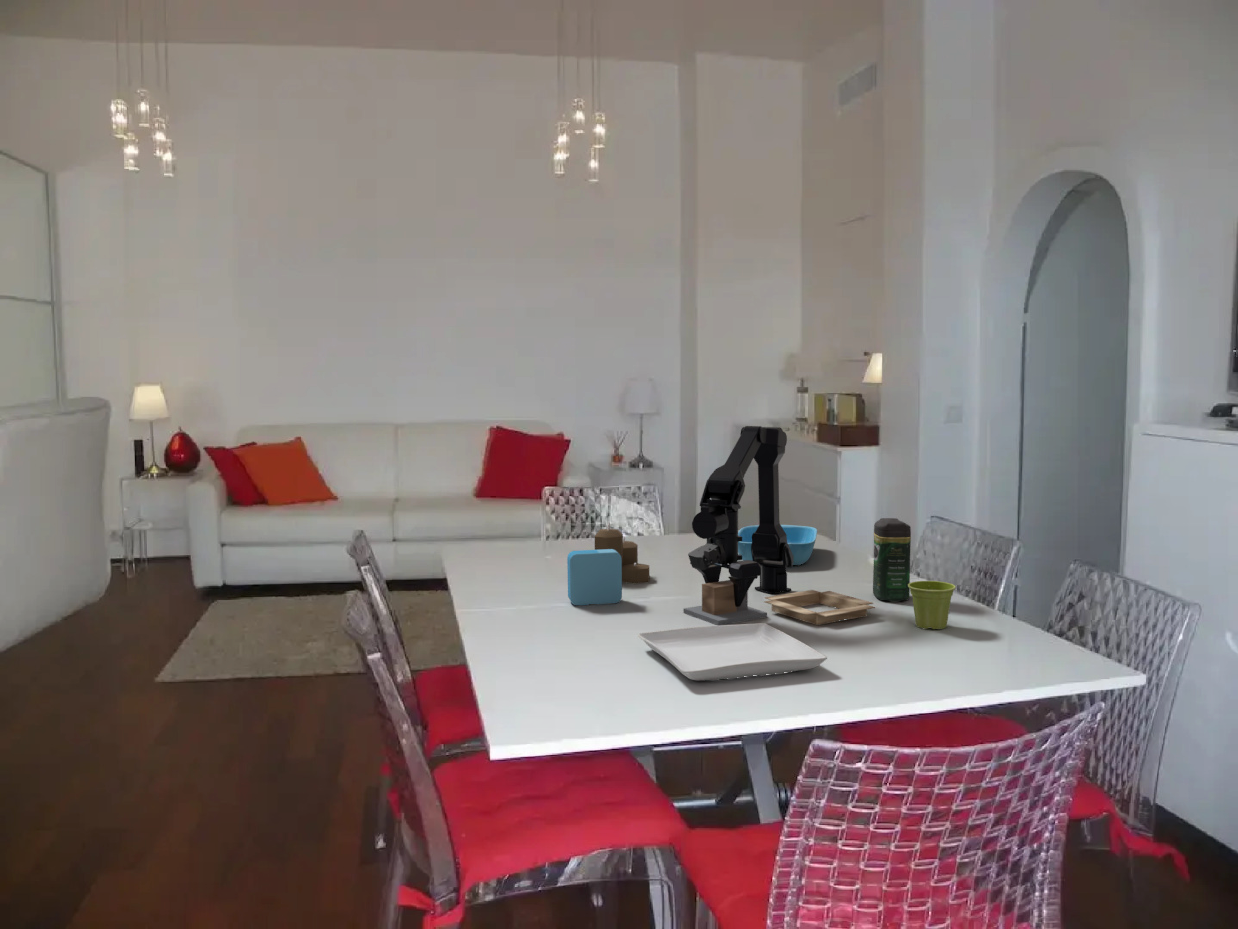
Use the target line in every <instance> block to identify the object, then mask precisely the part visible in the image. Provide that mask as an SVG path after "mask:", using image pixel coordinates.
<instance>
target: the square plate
mask: <svg viewBox="0 0 1238 929" xmlns="http://www.w3.org/2000/svg"><path fill="white" fill-rule="evenodd" d="M637 637H638V638H639V639H640V640H642V641H643V642H644V643H645V644H646V645H647V646H648V647H649V649H651V650H653V652H655V653H657V654H658V655H660V656H661V658H664V659H665V660H666V661H667V662H669V663H670V664H671V665H672V666H673V667H675V668H676V670H678V671H679V673H680V674H682V675H683V676H685V677H686V678H688V679H689V680H691V681H705V680H718V681H720V680H719V679H727V678H737V677H744V676H753V675H765V676H767V675H766V674H775V673H784V672H790V673H792V672H791V671H794V672H796V671H798V672H799V671H804V670H805V671H806V670H810V669H814V668H816V667H818V666H820V665H822V663H824V661H826V660H827V659H828V656H826V655H824V654H823V653H821V652H819V651H817V650H816V649H814V648H813V647H811V646H809V645H807V644H806V643H804V642H803V641H800V640H799V639H797V638H795V637H793V636H791V635H789V634H788V633H785V632H783V631H782V630H779V629H778V628H775V627H773V626H772V625H769V624H767V623H764V622H759V623H746V624H745V623H744V624H742V623H741V624H724V625H705V626H693V627H683V628H674V629H667V630H666V629H665V630H658V631H648V632H640V633H638V634H637ZM784 674H785V673H784ZM775 675H776V674H775ZM737 679H738V678H737Z"/></svg>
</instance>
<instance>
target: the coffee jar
mask: <svg viewBox="0 0 1238 929" xmlns="http://www.w3.org/2000/svg"><path fill="white" fill-rule="evenodd" d="M911 532H912V529H911V525H909V524H908V523H907V522H904V521H903V520H900V519H899V518H897V517H896V518H893V517H885V518H884V517H883V518H882V517H881V518H880V519H879V520H877V521H875V523H874V526H873V568H872V569H873V572H872V573H873V575H872V594H873V596H874V597H875V598H877V599H878V600H881V601H889V602H891V603H892V602H894V603H896V602H901V601H908V600H909V599H910V596H911V595H910V594H911V592H910V588H909V587H908V584H909V583H911V578H910V577H911V575H910V574H911V542H912V536H911V534H912V533H911Z"/></svg>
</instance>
